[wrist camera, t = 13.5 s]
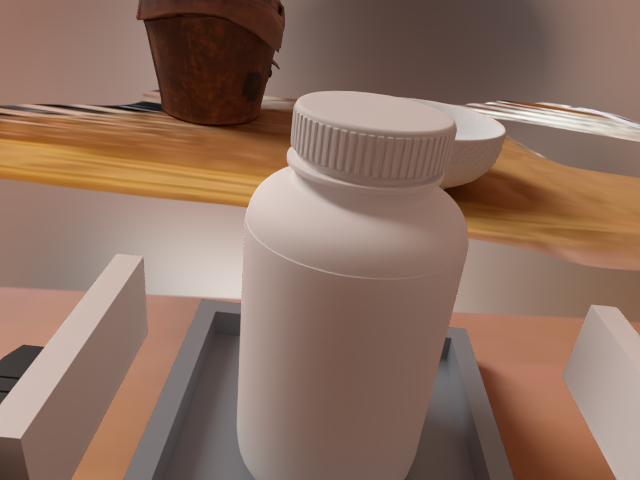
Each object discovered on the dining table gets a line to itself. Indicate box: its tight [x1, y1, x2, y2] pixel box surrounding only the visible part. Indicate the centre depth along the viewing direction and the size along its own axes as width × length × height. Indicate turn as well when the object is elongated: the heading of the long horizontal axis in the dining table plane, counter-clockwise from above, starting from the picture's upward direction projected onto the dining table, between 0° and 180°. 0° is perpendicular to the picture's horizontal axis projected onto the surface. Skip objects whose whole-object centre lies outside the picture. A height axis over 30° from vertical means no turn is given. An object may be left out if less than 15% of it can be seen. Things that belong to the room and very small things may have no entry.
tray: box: [123, 299, 514, 480], centre depth 24 cm, size 15×15×2 cm
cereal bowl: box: [398, 97, 506, 190], centre depth 55 cm, size 17×17×7 cm
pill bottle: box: [237, 91, 468, 480], centre depth 21 cm, size 8×8×15 cm
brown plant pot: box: [136, 0, 285, 125], centre depth 68 cm, size 18×20×18 cm
